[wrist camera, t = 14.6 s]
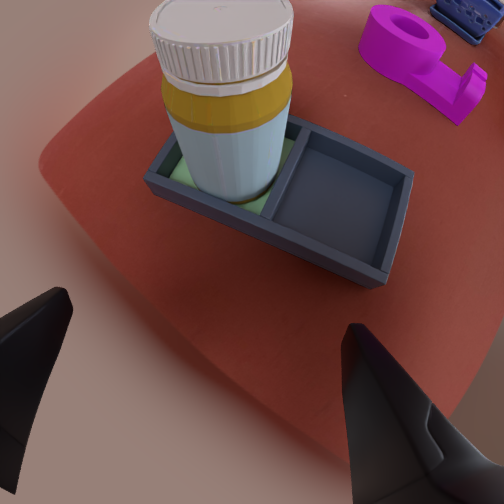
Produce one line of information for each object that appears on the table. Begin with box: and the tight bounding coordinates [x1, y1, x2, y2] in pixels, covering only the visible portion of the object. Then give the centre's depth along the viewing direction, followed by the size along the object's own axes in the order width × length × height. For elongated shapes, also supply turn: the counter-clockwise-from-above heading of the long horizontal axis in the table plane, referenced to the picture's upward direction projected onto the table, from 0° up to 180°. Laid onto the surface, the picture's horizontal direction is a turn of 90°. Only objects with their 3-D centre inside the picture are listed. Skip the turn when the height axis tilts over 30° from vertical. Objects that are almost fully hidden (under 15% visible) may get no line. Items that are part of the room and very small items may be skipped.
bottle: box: [149, 0, 294, 204], centre depth 16 cm, size 7×7×15 cm
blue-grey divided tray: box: [143, 114, 414, 289], centre depth 23 cm, size 10×19×3 cm, turn 66°
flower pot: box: [430, 0, 504, 45], centre depth 28 cm, size 13×13×12 cm
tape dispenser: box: [358, 5, 487, 126], centre depth 25 cm, size 16×10×6 cm, turn 53°
